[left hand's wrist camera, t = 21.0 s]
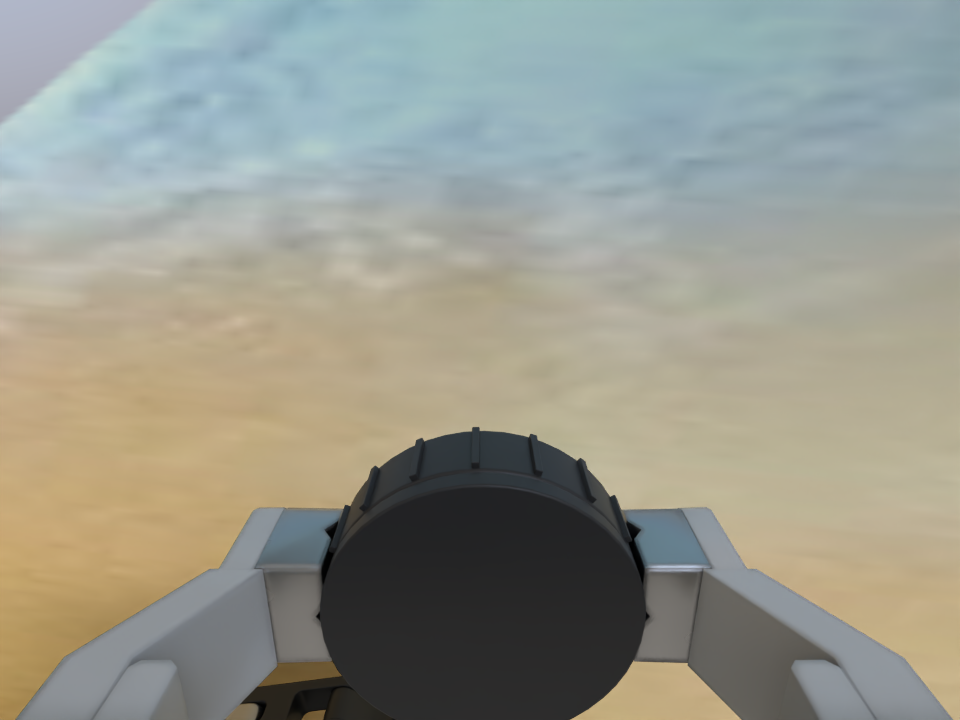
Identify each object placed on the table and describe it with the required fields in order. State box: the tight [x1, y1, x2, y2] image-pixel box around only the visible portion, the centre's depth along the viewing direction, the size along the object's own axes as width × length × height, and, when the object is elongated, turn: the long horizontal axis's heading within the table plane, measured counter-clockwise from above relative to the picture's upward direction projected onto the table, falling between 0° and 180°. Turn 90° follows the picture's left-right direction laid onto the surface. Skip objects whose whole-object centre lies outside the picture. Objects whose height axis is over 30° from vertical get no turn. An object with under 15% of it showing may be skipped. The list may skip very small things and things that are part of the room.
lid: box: [320, 427, 646, 720], centre depth 10 cm, size 5×5×2 cm
